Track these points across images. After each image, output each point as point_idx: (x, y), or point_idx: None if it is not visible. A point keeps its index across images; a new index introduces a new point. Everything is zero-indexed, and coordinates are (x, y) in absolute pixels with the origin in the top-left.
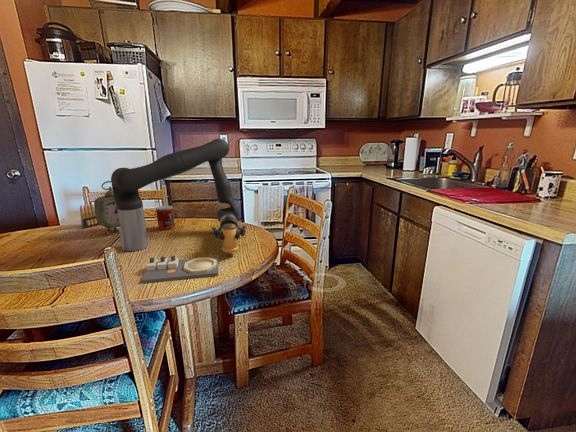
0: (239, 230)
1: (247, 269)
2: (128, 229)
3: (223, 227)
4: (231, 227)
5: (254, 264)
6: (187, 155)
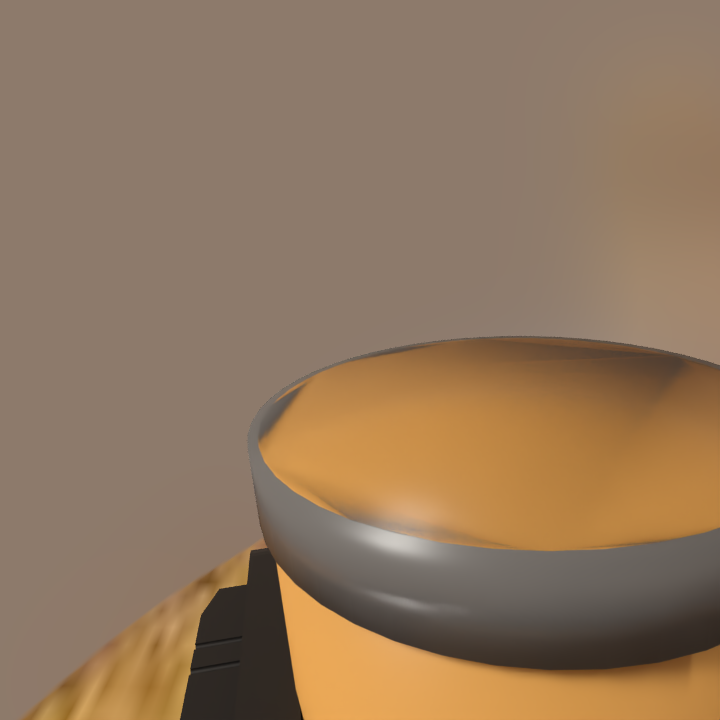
0: None
1: (243, 580)
2: None
3: (616, 355)
4: (384, 351)
5: (149, 662)
6: None
